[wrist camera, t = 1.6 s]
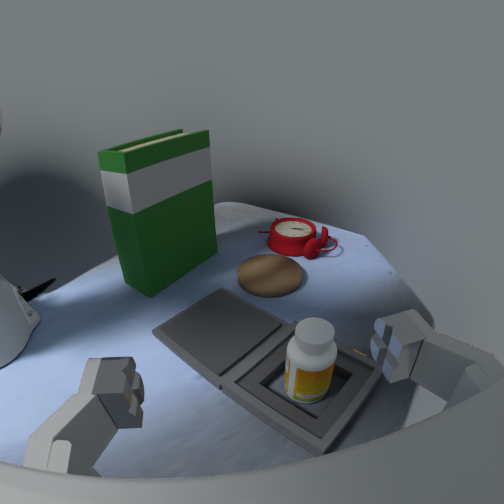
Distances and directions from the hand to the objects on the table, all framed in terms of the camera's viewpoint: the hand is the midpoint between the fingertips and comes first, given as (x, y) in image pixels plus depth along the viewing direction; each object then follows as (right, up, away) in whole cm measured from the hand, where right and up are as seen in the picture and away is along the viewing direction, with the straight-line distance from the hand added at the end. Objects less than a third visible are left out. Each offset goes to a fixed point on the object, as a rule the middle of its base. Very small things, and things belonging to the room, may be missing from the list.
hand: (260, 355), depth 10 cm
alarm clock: (+10, +4, +56) cm, 57 cm away
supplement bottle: (+6, -13, +26) cm, 30 cm away
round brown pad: (+3, -1, +46) cm, 46 cm away
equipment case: (+1, -10, +30) cm, 32 cm away
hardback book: (-15, 0, +50) cm, 52 cm away
